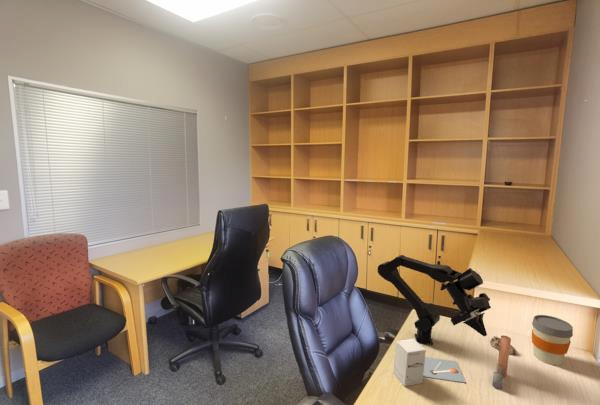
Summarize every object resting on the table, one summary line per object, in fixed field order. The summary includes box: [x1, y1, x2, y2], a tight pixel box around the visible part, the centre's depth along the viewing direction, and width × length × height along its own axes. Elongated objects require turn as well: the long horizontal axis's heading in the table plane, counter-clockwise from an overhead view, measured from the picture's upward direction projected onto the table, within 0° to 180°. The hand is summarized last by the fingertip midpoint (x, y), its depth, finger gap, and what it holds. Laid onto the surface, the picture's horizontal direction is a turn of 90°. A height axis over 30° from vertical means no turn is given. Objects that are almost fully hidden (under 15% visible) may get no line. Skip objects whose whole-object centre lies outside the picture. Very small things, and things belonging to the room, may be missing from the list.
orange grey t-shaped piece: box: [491, 335, 512, 390], centre depth 113 cm, size 11×3×14 cm, turn 139°
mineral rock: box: [489, 335, 517, 356], centre depth 134 cm, size 11×4×8 cm
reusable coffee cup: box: [531, 314, 574, 366], centre depth 127 cm, size 13×13×15 cm
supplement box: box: [392, 338, 427, 387], centre depth 113 cm, size 7×7×13 cm
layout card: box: [423, 356, 467, 384], centre depth 119 cm, size 12×14×1 cm
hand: (485, 335), depth 119 cm, fingers closed
